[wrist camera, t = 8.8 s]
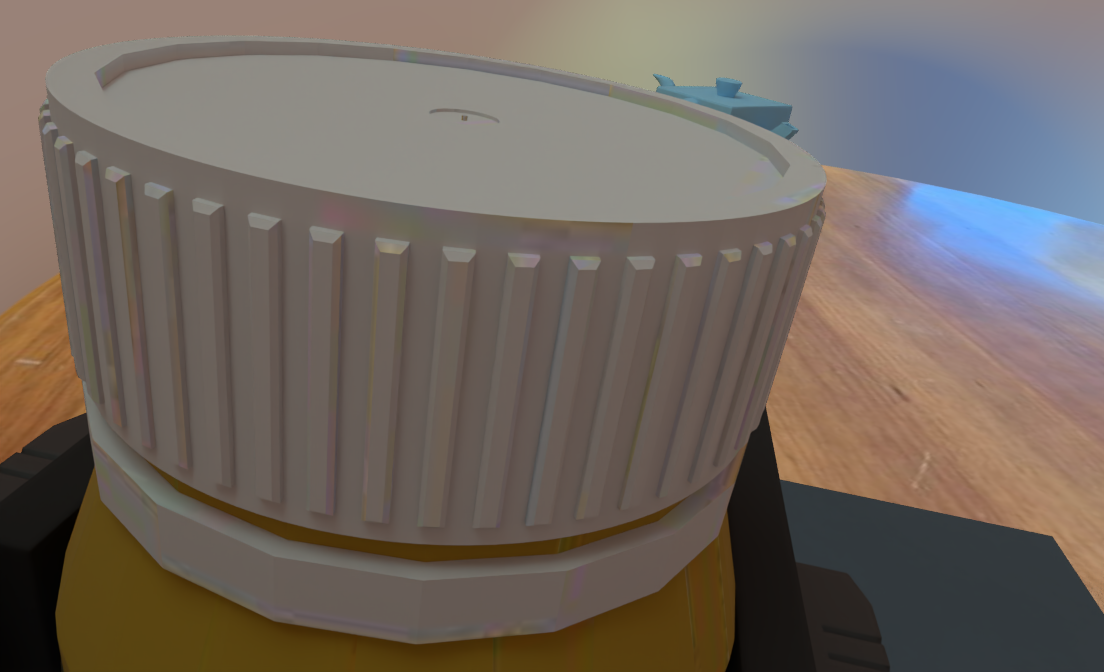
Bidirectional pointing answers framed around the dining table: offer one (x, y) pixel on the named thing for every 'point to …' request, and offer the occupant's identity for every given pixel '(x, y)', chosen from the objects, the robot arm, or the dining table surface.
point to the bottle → (409, 357)
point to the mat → (951, 585)
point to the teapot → (734, 103)
